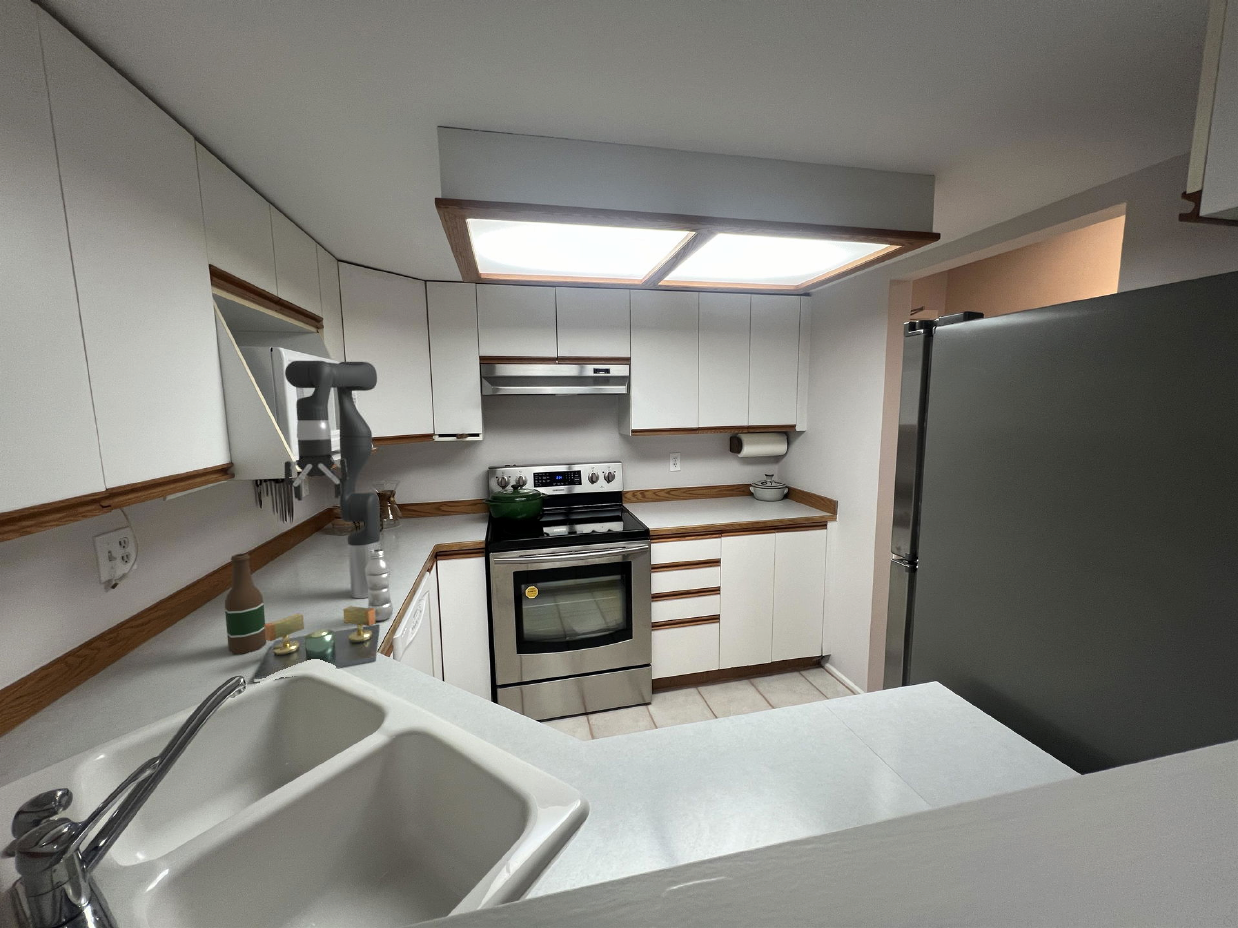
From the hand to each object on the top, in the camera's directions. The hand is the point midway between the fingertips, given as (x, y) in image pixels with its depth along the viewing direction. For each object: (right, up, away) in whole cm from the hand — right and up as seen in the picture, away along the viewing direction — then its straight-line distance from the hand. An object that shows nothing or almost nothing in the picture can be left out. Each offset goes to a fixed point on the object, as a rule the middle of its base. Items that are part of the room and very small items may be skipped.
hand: (318, 498), depth 133 cm
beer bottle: (-14, -37, -7) cm, 40 cm away
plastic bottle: (+12, -35, +10) cm, 39 cm away
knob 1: (-1, -36, -11) cm, 38 cm away
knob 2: (+14, -35, -5) cm, 38 cm away
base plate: (+7, -37, -10) cm, 39 cm away
